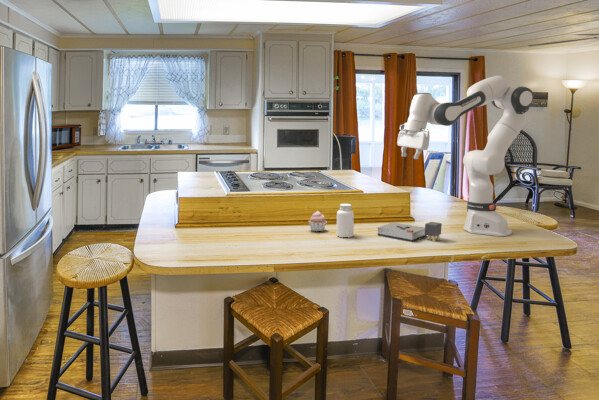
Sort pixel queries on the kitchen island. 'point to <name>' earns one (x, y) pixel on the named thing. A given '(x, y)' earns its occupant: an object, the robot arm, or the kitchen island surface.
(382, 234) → the socket
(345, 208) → the pill bottle
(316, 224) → the cupcake
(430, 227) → the plug
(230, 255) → the kitchen island surface
